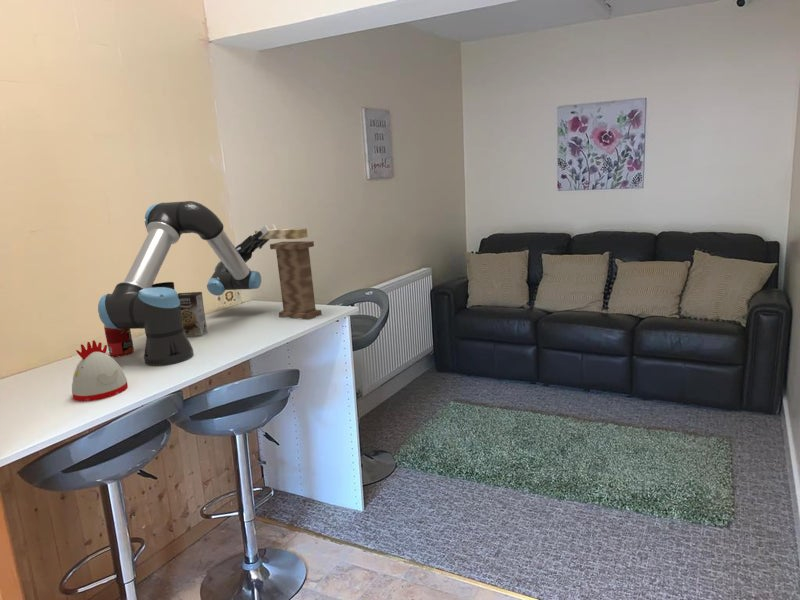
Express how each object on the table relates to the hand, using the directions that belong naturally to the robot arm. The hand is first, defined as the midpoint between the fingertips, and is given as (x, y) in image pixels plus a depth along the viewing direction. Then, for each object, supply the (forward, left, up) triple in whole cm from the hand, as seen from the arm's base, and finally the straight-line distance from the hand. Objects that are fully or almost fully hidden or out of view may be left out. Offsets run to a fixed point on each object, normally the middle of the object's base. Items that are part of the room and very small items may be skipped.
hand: (270, 227), depth 237 cm
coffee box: (-26, -28, -37) cm, 52 cm away
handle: (+4, -2, -4) cm, 6 cm away
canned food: (-42, -49, -37) cm, 74 cm away
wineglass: (-36, -27, -37) cm, 58 cm away
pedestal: (+9, -5, -36) cm, 38 cm away
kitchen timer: (-25, -86, -37) cm, 96 cm away
